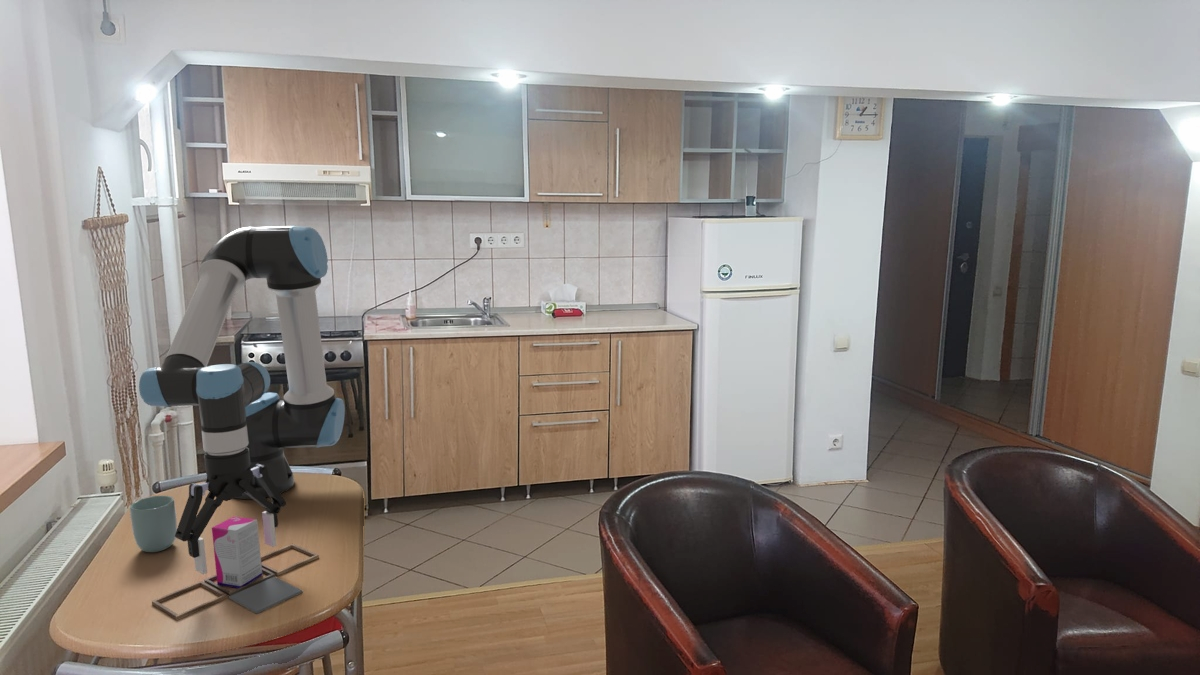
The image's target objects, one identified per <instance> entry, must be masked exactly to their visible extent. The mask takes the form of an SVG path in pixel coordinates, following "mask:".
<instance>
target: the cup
mask: <svg viewBox="0 0 1200 675" xmlns="http://www.w3.org/2000/svg"><path fill="white" fill-rule="evenodd" d="M129 513H130V514H129V515H130V522H131V523H130V524H131V528H132V534H133V538H134V541H135V544H136V545H137V547H138V548H139V550H141V551H143V552H146V553H158V552H162V551H164V550H167V549H169V547H171V546H172V545H173V544H174V543H175V540H176V539H177V538H176V537H175V533H176V531H177V528H178V521H177V512H176V504H175V498H173V496H170V495H152V496H148V497H144V498H140V499H139V500H136V501H135V502H133V503H132V504H130V506H129Z"/></svg>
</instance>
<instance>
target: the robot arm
mask: <svg viewBox="0 0 1200 675" xmlns="http://www.w3.org/2000/svg"><path fill="white" fill-rule="evenodd" d="M328 262H329V261H328V253H327V248H326V246H325V242H324V240H323V238H322V236H321V235H320V233H319V232H318V231H317V230H316V229H315V228H314V227H311V226H298V225H280V226H245V227H240V228H238V229H235V230H233V231H231V232H229V233H228V234H226V235H224V236H223V237H221V239H219V240H218V241H217V242H216V243H215V244H214V245H213V246H212V247H211V248H210V249H209V250H208V252H206V254H205V256H204V257H203V259H202V261H201V263H200V266H199V267H198V271H197V272H198V276H199V281H198V282H197V285H196V287H195V288H194V289H195V290H194V292H193V295H192V296H191V299H190V301H189V303H188V305H187V308H186V311H185V312H184V314H183V317H182V319H181V322H180V324H179V326H178V329H177V330H176V333H175V335H174V336H173V337H174V338H173V340H172V342H171V344H170V346H169V350H168V352H167V354H166V356H165V358H164V360H163V363H162V364H161V366H154V367H149V368H147V369H146V370H144V371H143V372H142V374H141V375H140V378H139V385H138V390H139V396H140V397H141V399H142V401H143V403H145V404H146V405H147V406H150V407H164V408H165V407H167V408H171V407H186V406H187V407H188V406H189V407H190V406H198V409H199V416H200V417H199V419H200V424H201V425H200V429H201V438H202V447H203V448H202V449H203V451H204V452H205V453H203V454H204V455H203V459H204V460H203V461H204V468H205V469H204V470H205V473H206V480H205V482H202V483H194V482H191V483H190V484H189V486H188V498H187V501H186V504H185V506H184V509H183V512H182V515H181V518H180V520H179V523H178V524H177V531H176V533H175V537H176V539H178V540H180V541H182V542H187V547H188V548H187V549H188V550H187V551H188V554H189V556H190V557H192V558H193V561H194V569H195V571H196V572H198V573H200V574H202V575H206V574H207V573H208V567H207V565H208V564H207V557H206V549H205V540H204V538H203V537H201V535H202V534H203V532H204V530H205V529H206V527H207V526H208V524H209V522H210V520H211V519H212V517H213V516H214V514H215V512H216V511H217V509H218V507H220V506H221V505H222V503H223V502H224V501H225V502H228V501H230V500H232V499H239V500H253V501H255V502H256V503H257V504H259V505H260V506H261V507H263V508H264V511H262V512H261V515H262V517H261V518H262V527H263V528H262V529H263V537H264V544H265V545H268V546H270V547H271V548H273V547H276V546H277V538H276V529H275V528H278V525H279V520H278V514H279V513H280V512H281V508H282V507H283V508H284V507H285V506H286V504H287V501H286V500H285V498H284V497H283V495H282V494H281V493H284V492H287V491H288V490H290V489H291V488H292V487H294V485H295V478H294V473H293V471H292V469H291V467H290V465H289V462H288V460H287V457H286V456H285V452H284V448H320V447H331V446H334V445H336V444H337V443H338V441H339V440H340V438H341V435H342V432H343V428H344V424H345V423H344V422H345V412H346V411H345V410H346V409H345V402H344V400H343V399H342V398H340V397H336V396H335V394H336V393H335V390H334V388H333V387H331V386H330V385H328V383H327V376H326V370H325V369H326V368H325V359H324V352H323V344H322V336H321V328H320V318H319V310H318V303H317V295H316V294H317V293H316V291H317V289H318V288H319V286H320V285H321V284H322V279H321V278H324V277H325V276H326V275H327V273H328V270H329V267H328V266H329V265H328ZM250 279H266V285H267V288H268V290H270V291H271V292H273V293H274V294H275V297H276V304H277V310H278V317H279V319H278V320H279V326H280V333H281V339H282V340H281V342H282V347H283V355H284V362H285V369H286V375H287V376H286V377H287V383H288V390H287V391H286V392H285V394H284V395H283V399H280V398H281V397H280V395H279V394H278V393H277V392H267V391H268V390H269V389H270V385H271V376H270V374H269V371H268V369H266V367H265V366H263V365H262V364H261V363H258V362H255V361H247V362H242V363H238V364H232V363H223V364H214V365H212V364H211V365H208V364H209V362H210V359H211V357H212V354H213V352H214V348H215V346H216V344H217V341H218V339H219V337H220V334H221V331H222V329H223V326H224V324H225V322H226V319H227V316H228V314H229V310H230V309H231V308H230V307H231V306H232V303H233V300H234V298H235V295H236V293H237V292H238V291H240V290H241V289H242V288H244V286H245V284H246V281H248V280H250ZM206 491H208V493H207V496H206V497H205V499H204V504H203V505H202V507H201V504H202V500H203V496H205V495H206ZM268 498H270V499H271V501H270V500H269V499H268ZM200 507H201V508H200Z"/></svg>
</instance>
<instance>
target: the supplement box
mask: <svg viewBox="0 0 1200 675" xmlns="http://www.w3.org/2000/svg"><path fill="white" fill-rule="evenodd" d="M211 531H212V532H211V534H212V544H213V553H214V554H213V555H214V562H215V563H214V564H215V565H214V566H215V575H217V579H216V582H217V583H216V584H218V585H220V586H221V587H223V586H224V587H229V588H235V589H238V588H241V587H243V586H245V585H248V584H250V583H252V582H254V581H257V580H258V578H259V579H260V577H262V575H263V573H262V566H261V563H262V560H261V556H262V555H261V548H260V547H261V545H260V538H259V537H260V535H259V526H258V519H256V518H255V519H253V518H247V517H241V516H231V517H230V518H228V519H227V520H224V521H222V522H221V523H218V524H217V525H214V526H212V527H211Z"/></svg>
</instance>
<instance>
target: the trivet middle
mask: <svg viewBox="0 0 1200 675" xmlns="http://www.w3.org/2000/svg"><path fill="white" fill-rule="evenodd" d="M262 574H264V575H266V576H264V577H262V578H259V579H256V580H254V581H253V582H251V583H250V584H248V585H245V586H243V587H241V588H235V589H234V590H229V589H227V588H225V587H223V586H222V585H218V584H217V583H216V582H214V581H215V580H217V575H216V574H215V575H213V576H210V577H206V578H205V579H203V580H204V581H203V582H205V583H207V584H208V585H210V586H212V587H214V588H216V589H218V590H219V591H221V592H223V593H225V594H227V597H229V596H231V595H234V594H236V593H238V592H240V591H243V590H245V589H247V588H250V587H252V586H254V585H256V584H259V583H261V582H263V581H266V580H268V579H270V578H272V577H276V575H275V574H274V573H272V572H270V571H268V570H266V569H264V568H262Z"/></svg>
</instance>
